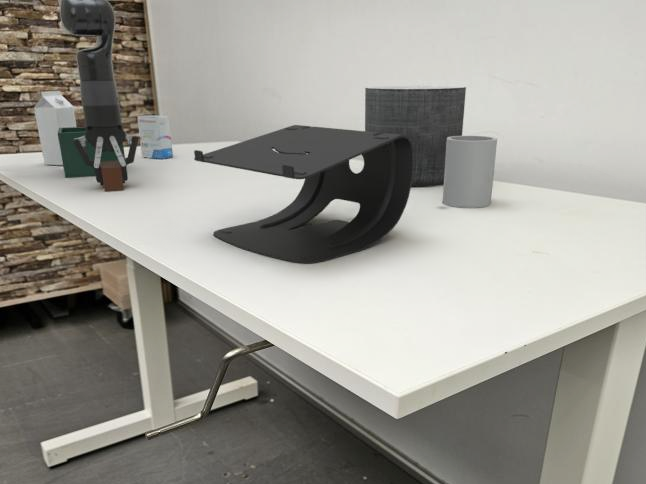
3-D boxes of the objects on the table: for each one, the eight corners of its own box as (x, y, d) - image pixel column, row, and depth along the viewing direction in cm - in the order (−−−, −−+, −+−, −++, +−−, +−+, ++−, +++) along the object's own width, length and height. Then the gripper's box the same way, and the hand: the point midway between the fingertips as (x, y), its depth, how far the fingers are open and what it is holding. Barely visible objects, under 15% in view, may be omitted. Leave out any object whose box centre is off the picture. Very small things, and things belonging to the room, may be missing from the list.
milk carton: (44, 165, 168) (30, 91, 160) (62, 161, 174) (49, 90, 166) (65, 166, 166) (52, 92, 158) (82, 162, 172) (70, 90, 164)
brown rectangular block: (104, 191, 131) (101, 168, 129) (103, 183, 140) (99, 161, 138) (124, 190, 133) (120, 166, 131) (121, 182, 141) (117, 160, 139)
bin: (65, 177, 148) (57, 133, 144) (66, 169, 161) (58, 127, 157) (127, 173, 153) (121, 130, 149) (123, 165, 166) (117, 125, 161)
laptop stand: (415, 236, 95) (420, 133, 88) (301, 270, 80) (299, 148, 74) (306, 211, 112) (304, 123, 106) (196, 234, 97) (187, 134, 91)
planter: (416, 168, 156) (420, 84, 148) (479, 180, 139) (487, 86, 131) (345, 176, 145) (346, 87, 137) (404, 191, 128) (408, 89, 120)
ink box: (174, 157, 180) (169, 115, 175) (162, 159, 176) (157, 116, 171) (153, 155, 184) (148, 114, 179) (141, 157, 180) (135, 115, 175)
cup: (447, 207, 113) (451, 141, 108) (439, 198, 121) (443, 135, 117) (495, 207, 113) (502, 140, 108) (484, 197, 121) (490, 135, 117)
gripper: (133, 101, 135) (143, 179, 142) (65, 103, 130) (78, 183, 137) (136, 102, 128) (146, 184, 135) (64, 104, 124) (79, 189, 131)
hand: (112, 183), depth 136 cm, fingers closed on brown rectangular block, 4 cm apart
